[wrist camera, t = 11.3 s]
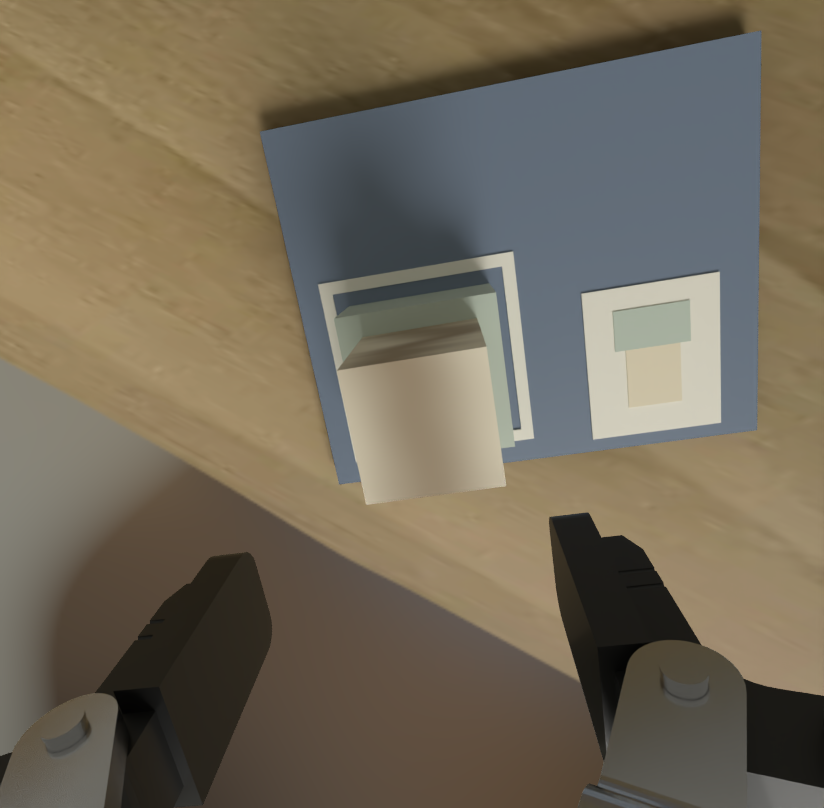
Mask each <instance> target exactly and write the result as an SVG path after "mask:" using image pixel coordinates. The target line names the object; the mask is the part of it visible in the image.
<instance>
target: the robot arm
mask: <svg viewBox="0 0 824 808" xmlns="http://www.w3.org/2000/svg"><path fill="white" fill-rule="evenodd" d="M549 527H550V537H551V546H552V555H553V564H554V573H555V583H556V591H557V597H558V603H559V608H560V613H561V617H562V621H563V624H564V628H565V631H566V634H567V638H568V641H569V645H570V648H571V651H572V655H573V658H574V662H575V665H576V669H577V672H578V675H579V679H580V682H581V685H582V689H583V692H584V696H585V699H586V703H587V706H588V709H589V712H590V716H591V719H592V723H593V726H594V730H595V733H596V737H597V740H598V743H599V746H600V750H601V754H602V757H603V760H604V764H603V768H602V772H601V776H600V780H599V783H598V785H597V786H595V785H592V784H588V785H587V786H586V787H585V789H584V791H583V793H582V796H581V799H580V802H579V805H578V808H824V696H821V695H814V694H808V693H802V692H795V691H789V690H783V689H777V688H772V687H767V686H763V685H760V684H756V683H753V682H751V681H748V680H746V679H743V677H742V675H741V674H740V672H739V671H738V669H737V668H736V667H735V666H734V665H733V664H732V663H731V662H730V661H729V660H727V659H726V658H725V657H724V656H722V655H721V654H719V653H717V652H716V651H714V650H712V649H710V648H708V647H705V646H702V645H701V644H700V642H699V640H698V639H697V637H696V635H695V634H694V632H693V630H692V629H691V627H690V626H689V624H688V622H687V621H686V619H685V617H684V616H683V614H682V612H681V611H680V609H679V608H678V606H677V604H676V603H675V601H674V599H673V598H672V596H671V594H670V593H669V591H668V589H667V588H666V587H664V584H663V581H662V580H661V578H660V576H659V575H658V573H657V571H655V570H654V567H653V565H652V563H651V562H650V560H649V558H648V557H647V555H646V553H645V552H644V550H643V549H642V548H640V547H639V546H637V545H636V544H634V543H633V542H631V541H630V540H628V539H627V538H625V537H624V536H622V535H620V536H611V537H603V538H601V536H600V534H599V532H598V530H597V528H596V526H595V524H594V522H593V520H592V518H591V516H590V514H589V513H579V514H571V515H563V516H554V517H550V518H549ZM271 636H272V622H271V617H270V612H269V609H268V605H267V602H266V598H265V595H264V591H263V588H262V585H261V581H260V577H259V574H258V570H257V567H256V564H255V560H254V558H253V557H252V555H251V554H250V553H248V552H245V553H237V554H228V555H220V556H213V557H210V558H209V559H208V560H207V562H206V563H205V564H204V566H203V567H202V568H201V570H200V571H199V573H198V574H197V576H196V577H195V578H194V580H193V581H192V582H191V584H186V585H185V586H183V587H182V588H181V589H180V590H178V591H177V592H176V593H175V594H173V595H172V596H171V597H169V598H168V599H167V600H166V601H164V603H163V604H162V605H161V607H160V608H159V609H158V611H157V612H156V613H155V615H154V616H153V617H152V618H151V620H150V624H147V625H146V626H145V628H144V629H143V630H142V632H141V633H140V634H139V636H138V640H136V641H134V642H133V644H132V645H131V646H130V648H129V649H128V650H127V651H126V653H125V654H124V656H123V657H122V658H121V659H120V661H119V662H118V664H117V665H116V666H115V667H114V669H113V670H112V671H111V673H110V674H109V675H108V677H107V678H106V679H105V681H104V682H103V683H102V685H101V686H100V687H99V688H98V690H97V691H96V692H95V694H89V695H84V696H81V697H78V698H75V699H72V700H70V701H68V702H66V703H64V704H62V705H60V706H58V707H56V708H55V709H53V710H51V711H50V712H48V713H47V714H46V715H44V716H43V717H41V718H40V719H39V720H38V721H37V722H36V723H34V724H33V725H32V726H31V727H30V728H29V729H28V730H27V731H26V732H25V733H24V735H23V736H22V737H21V738H20V740H19V741H18V743H17V744H16V746H15V748H14V750H13V752H12V753H8V754H5V755H2V756H0V808H174V807H185V806H198V805H203V804H204V801H205V799H206V797H207V794H208V792H209V789H210V787H211V785H212V782H213V780H214V778H215V775H216V773H217V770H218V768H219V766H220V763H221V761H222V759H223V756H224V754H225V752H226V749H227V747H228V745H229V742H230V740H231V737H232V735H233V733H234V730H235V728H236V726H237V723H238V721H239V719H240V716H241V713H242V712H243V709H244V707H245V704H246V702H247V700H248V697H249V695H250V692H251V690H252V688H253V686H254V683H255V681H256V678H257V676H258V674H259V671H260V669H261V667H262V664H263V662H264V660H265V657H266V655H267V652H268V650H269V647H270V643H271Z"/></svg>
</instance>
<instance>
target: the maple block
mask: <svg viewBox="0 0 824 808" xmlns="http://www.w3.org/2000/svg"><path fill="white" fill-rule="evenodd" d="M337 374H338V379H339V384H340V388H341V393H342V397H343V402H344V406H345V411H346V415H347V420H348V424H349V429H350V433H351V438H352V442H353V447H354V451H355V456H356V460H357V465H358V469H359V474H360V478H361V483H362V487H363V492H364V496H365V501H366V505H368V504H375V503H383V502H390V501H398V500H405V499H413V498H421V497H428V496H436V495H443V494H451V493H458V492H466V491H473V490H481V489H488V488H496V487H503V486H506V481H505V474H504V467H503V460H502V453H501V446H500V438H499V431H498V424H497V417H496V410H495V403H494V396H493V389H492V381H491V374H490V367H489V360H488V353H487V346H486V343H485V340H484V337H483V334H482V331H481V328H480V325H479V322H478V319H477V318H475V319H469V320H463V321H457V322H451V323H445V324H439V325H433V326H427V327H421V328H415V329H409V330H403V331H397V332H391V333H385V334H379V335H373V336H367V337H362V339H361V340H360V341H359V342H358V344H357V345H356V346H355V348H354V349H353V350H352V351H351V353H350V354H349V355H348V357H347V358H346V359H345V361H344V362H343V363H342V364H341V366H340V367H339V368H338V370H337Z"/></svg>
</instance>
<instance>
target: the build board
mask: <svg viewBox="0 0 824 808" xmlns="http://www.w3.org/2000/svg"><path fill="white" fill-rule="evenodd" d="M760 104H761V31H757V32H752V33H747V34H742V35H737V36H732V37H727V38H722V39H717V40H712V41H707V42H702V43H697V44H692V45H687V46H682V47H677V48H672V49H667V50H662V51H657V52H652V53H648V54H643V55H638V56H633V57H628V58H623V59H618V60H613V61H608V62H603V63H598V64H593V65H588V66H583V67H578V68H573V69H568V70H563V71H558V72H553V73H548V74H543V75H538V76H533V77H528V78H524V79H519V80H514V81H509V82H504V83H499V84H494V85H489V86H484V87H479V88H474V89H469V90H464V91H459V92H454V93H449V94H444V95H439V96H434V97H429V98H424V99H419V100H414V101H409V102H404V103H400V104H395V105H390V106H385V107H380V108H375V109H370V110H365V111H360V112H355V113H350V114H345V115H340V116H335V117H330V118H325V119H320V120H315V121H310V122H305V123H300V124H295V125H290V126H285V127H280V128H276V129H271V130H266V131H261V132H260V135H261V139H262V143H263V148H264V152H265V157H266V161H267V166H268V170H269V175H270V179H271V183H272V188H273V192H274V197H275V201H276V206H277V210H278V214H279V219H280V223H281V228H282V232H283V237H284V241H285V246H286V250H287V254H288V259H289V263H290V268H291V272H292V277H293V281H294V286H295V290H296V294H297V299H298V303H299V308H300V312H301V317H302V321H303V325H304V330H305V334H306V339H307V343H308V348H309V352H310V357H311V361H312V365H313V370H314V374H315V379H316V383H317V388H318V392H319V397H320V401H321V405H322V410H323V414H324V419H325V423H326V428H327V432H328V436H329V441H330V445H331V450H332V454H333V459H334V463H335V468H336V472H337V476H338V481H339V484H345V483H353V482H361V478H360V474H359V469H358V465H357V460H356V456H355V451H354V447H353V442H352V438H351V433H350V429H349V424H348V420H347V415H346V411H345V406H344V402H343V397H342V393H341V388H340V384H339V379H338V374H337V370H338V368H339V367H340V366H341V364H342V363H343V360H342V356H341V351H340V346H339V341H338V336H337V332H336V327H335V322H334V318H335V317H336V316H338V315H339V314H340V313H341V312H343V311H344V310H345V309H346V308H348V307H349V306H354V305H360V304H366V303H372V302H378V301H384V300H391V299H397V298H403V297H409V296H415V295H421V294H427V293H433V292H439V291H445V290H451V289H457V288H464V287H470V286H476V285H482V284H488V283H489V284H490V285H491V286H492V288H493V289H494V290H495V292H496V296H497V304H498V312H499V320H500V328H501V337H502V345H503V353H504V361H505V369H506V377H507V385H508V393H509V401H510V410H511V418H512V426H513V434H514V442H515V447H508V448H501V453H502V460H503V463H507V462H515V461H522V460H530V459H538V458H546V457H553V456H561V455H569V454H576V453H584V452H592V451H599V450H607V449H615V448H623V447H630V446H638V445H646V444H653V443H661V442H669V441H676V440H684V439H692V438H699V437H707V436H715V435H723V434H730V433H738V432H746V431H753V430H757V386H758V292H759V198H760Z"/></svg>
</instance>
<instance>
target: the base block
mask: <svg viewBox="0 0 824 808" xmlns="http://www.w3.org/2000/svg"><path fill="white" fill-rule="evenodd" d="M475 318H477V319H478V322H479V325H480V328H481V331H482V334H483V337H484V340H485V343H486V346H487V353H488V360H489V367H490V374H491V381H492V389H493V396H494V403H495V410H496V417H497V424H498V431H499V438H500V446H501V448H508V447H515V442H514V434H513V426H512V418H511V410H510V401H509V393H508V385H507V377H506V369H505V361H504V353H503V345H502V337H501V328H500V320H499V312H498V304H497V296H496V292H495V290H494V289H493V288H492V286H491V285H490V284H489V283H488V284H482V285H476V286H470V287H464V288H457V289H451V290H445V291H439V292H433V293H427V294H421V295H415V296H409V297H403V298H397V299H391V300H384V301H378V302H372V303H366V304H360V305H354V306H349V307H348V308H346V309H345V310H344V311H343V312H341V313H340V314H339V315H338V316H336V317H335V318H334V322H335V327H336V332H337V336H338V341H339V346H340V351H341V356H342V360H343V362H344V361H345V359H346V358H347V357H348V355H349V354H350V353H351V351H352V350H353V349H354V348H355V346H356V345H357V344H358V342H359V341H360V340H361V339H362V337H367V336H373V335H379V334H385V333H391V332H397V331H403V330H409V329H415V328H421V327H427V326H433V325H439V324H445V323H451V322H457V321H463V320H469V319H475Z"/></svg>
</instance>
